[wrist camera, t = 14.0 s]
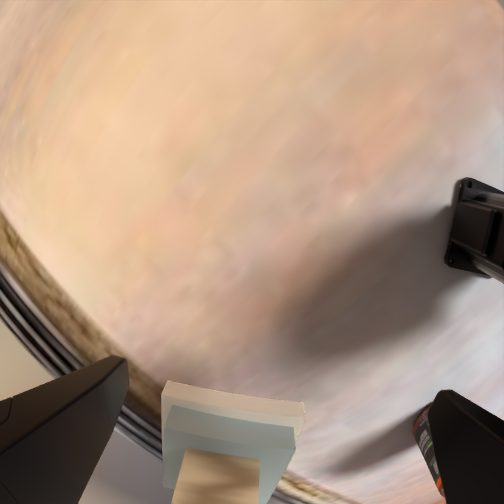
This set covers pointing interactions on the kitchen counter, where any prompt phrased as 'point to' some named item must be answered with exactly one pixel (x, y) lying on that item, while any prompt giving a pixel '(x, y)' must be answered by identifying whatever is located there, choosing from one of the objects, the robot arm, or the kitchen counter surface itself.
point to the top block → (227, 444)
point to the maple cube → (217, 479)
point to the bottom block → (232, 406)
